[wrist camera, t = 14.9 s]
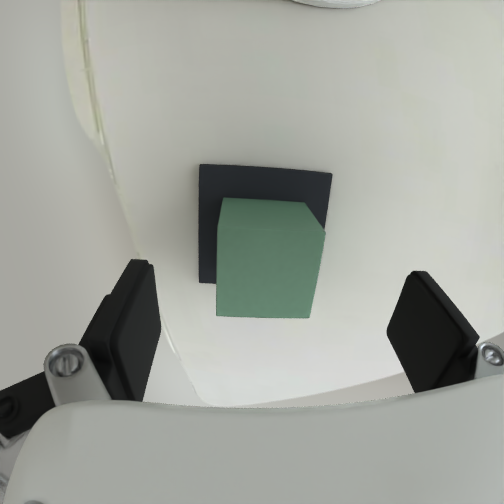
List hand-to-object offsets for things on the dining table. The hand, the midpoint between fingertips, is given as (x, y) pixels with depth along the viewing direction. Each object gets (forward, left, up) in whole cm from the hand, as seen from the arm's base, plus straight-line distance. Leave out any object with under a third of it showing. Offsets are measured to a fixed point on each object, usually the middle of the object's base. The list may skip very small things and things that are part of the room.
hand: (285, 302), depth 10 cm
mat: (+1, 0, -9) cm, 9 cm away
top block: (+1, 0, -9) cm, 9 cm away
